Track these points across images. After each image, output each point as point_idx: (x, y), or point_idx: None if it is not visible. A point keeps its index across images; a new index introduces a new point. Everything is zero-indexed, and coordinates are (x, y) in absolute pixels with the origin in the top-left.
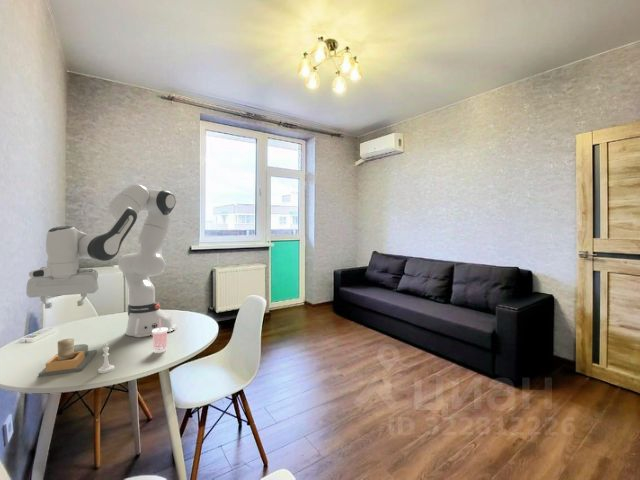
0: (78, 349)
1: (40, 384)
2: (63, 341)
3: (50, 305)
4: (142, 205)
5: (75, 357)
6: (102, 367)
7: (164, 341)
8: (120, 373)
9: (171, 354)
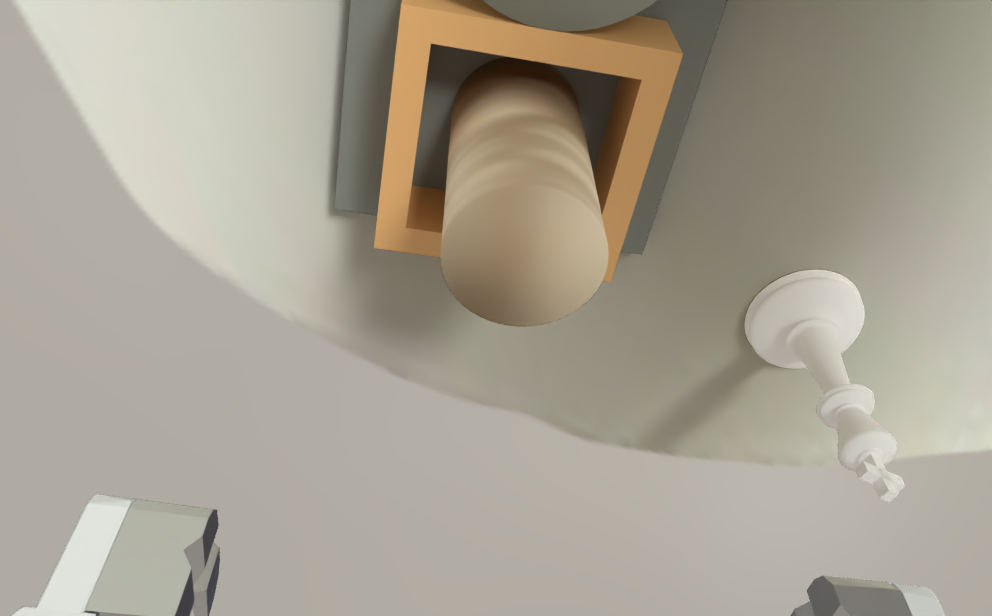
0: None
1: (398, 335)
2: (502, 274)
3: (188, 602)
4: None
5: (603, 221)
6: (784, 339)
7: None
8: None
9: None
